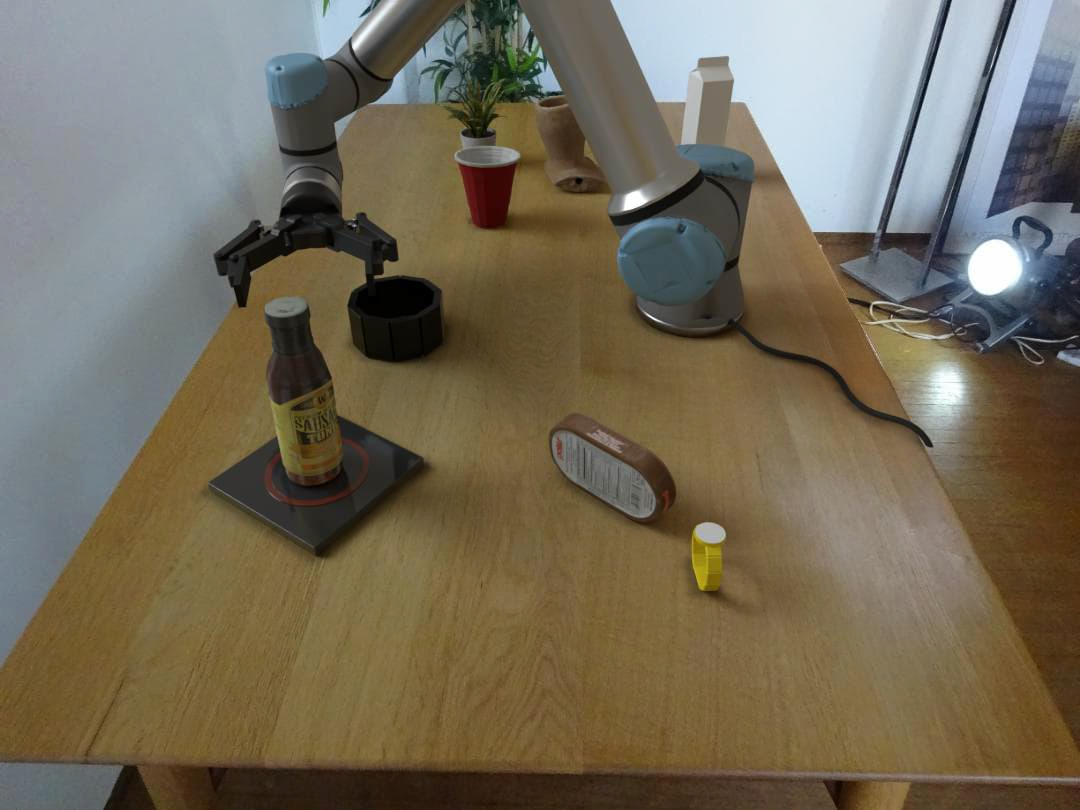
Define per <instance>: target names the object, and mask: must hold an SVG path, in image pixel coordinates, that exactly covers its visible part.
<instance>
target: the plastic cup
mask: <svg viewBox="0 0 1080 810" xmlns="http://www.w3.org/2000/svg"><path fill="white" fill-rule="evenodd" d="M454 159H455V161H456V163H457V165H458V168H459V171H460V175H461V177H462V183H463V187H464V191H465V196H466V201H467V205H468V208H469V212H470V217H471V221H472V223H473V225H474V226H475V227H478V228H480V229H485V230H489V229H490V230H492V229H497V228H501V227H502V226H504V225H505V224H506V223H507V219H508V215H509V207H510V204H511V197H512V191H513V185H514V179H515V174H516V170H517V167H518V166H517V165H518V163H519V160H521V153H520V152H519V151H517V150H516V149H513V148H510V147H505V146H497V145H495V146H477V147H469V148H465V149H463V148H462V149H459V150H457V151H456V152H455V153H454Z"/></svg>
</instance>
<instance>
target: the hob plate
mask: <svg viewBox="0 0 1080 810" xmlns="http://www.w3.org/2000/svg"><path fill="white" fill-rule="evenodd" d="M337 415H338V414H337ZM338 421H339V428H340V434H341V441H342V448H343V466H342V468H341V470H340V472H339V473H338V475H337V476H336V477H335V478H334V479H332V480H330V481H329V482H326V483H324V484H320V485H315V486H301V485H299V484H296V483H294V482H293V481H291V480H290V479H289V477H288V475H287V473H286V471H285V466H284V465H283V461H282V457H281V452H280V447H279V442H278V437H277V435H276V436H274V437H273V438H272V439H269V441H268V442H265V443H264V444H263V445H262V446H260V447H258V448H257V449H255V450H254V451H253V452H251V453H249V454H248V455H246V456H245V457H244V458H242V459H241V460H239V461H237V462H236V463H235V464H233V465H231V466H230V467H228V468H227V469H225V471H223V472H221V473H220V474H218V475H217V476H215V477H214V478H212V479H211V480H210V481H208V482H207V486H208V488H209V491H210V492H211V493H213V494H214V495H216V496H217V497H219V498H221V499H222V500H224V501H226V502H227V503H229V504H231V505H232V506H234V507H236V508H237V509H239V510H240V511H242V512H244V513H245V514H247V515H249V516H250V517H252V518H253V519H255V520H257V521H258V522H259V523H261V524H264V526H266V527H268V528H270V529H271V530H273V531H275V532H276V533H278V534H280V535H281V536H282V537H284V538H286V539H288V540H289V541H291V542H293V543H294V544H296V545H297V546H298V547H301V548H302V549H303V550H305V551H307V552H308V553H310V554H312V555H313V556H315V557H317V556H318V555H319V554H321V553H322V552H323V551H324V550H325V549H327V548H328V547H329V546H330V545H332V544H333V543H334V542H335V541H336V540H337V539H339V538H340V537H341V536H342V535H344V533H346V532H347V531H348V530H350V529H351V528H352V527H353V526H354V525H355V524H357V523H358V522H359V521H360V520H361V519H362V518H364V517H365V516H366V515H368V514H369V513H370V512H371V511H372V510H373V509H375V508H376V507H377V506H378V505H379V504H380V503H382V502H383V501H385V499H387V497H389V496H390V495H391V494H393V492H395V491H396V490H397V489H398V488H399V487H401V486H402V485H403V484H405V483H406V482H407V481H408V480H409V479H410V478H411V477H412V476H414V475H415V474H416V473H418V472H419V471H420V470H421V469H422V468H424V467H425V458H424V457H423V456H421V455H419V454H417V453H415V452H413V451H411V450H409V449H407V448H405V447H403V446H401V445H399V444H397V443H396V442H393V441H391V440H389V439H387V438H385V437H383V436H381V435H379V434H377V433H375V432H373V431H372V430H369V429H366V428H365V427H363V426H361V425H359V424H357V423H355V422H353V421H351V420H348V419H347V418H344V417H343V416H341V415H338Z"/></svg>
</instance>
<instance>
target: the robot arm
mask: <svg viewBox="0 0 1080 810" xmlns="http://www.w3.org/2000/svg"><path fill="white" fill-rule="evenodd" d="M467 1H468V0H380V1H379V2H378V3H377V5H376V6H375V7H374V8H373V9H372V10H371V11H370V13H369V14H368V15H367V16H366V18H365V19H364V20H363V21H362V22H361V24H359V26H357V28H356V30H355V31H354V32H353V33H352V35H351V36H350V37H349V38H348V39H347V40H346V41H345V43H344V44H343V45H342V46H341V47H340V49H339V50H338V51H336V52H335V53H334V54H333V55H331V56H329V57H326V58H324V59H323V58H322V57H320V56H319V55H317V54H314V53H308V52H292V53H286V54H281V55H276V56H274V57H272V58H271V59H269V60H268V61H267V62H266V65H265V67H264V72H265V79H266V86H267V99H268V101H269V104H270V105H269V106H270V110H271V114H272V118H273V124H274V129H275V134H276V139H277V143H278V147H279V149H278V150H279V156H280V161H281V165H282V170H283V177H284V182H283V189H282V195H281V201H280V208H279V214H278V220H276V221H275V222H274V224H273V225H264V224H262V221H261V220H260V219H252V220H251V221H250V222H249V224H248V226H247V227H246V229H244V230H243V231H242V232H240V233H239V234H238V235H236V236H235V237H233V238H232V239H231V240H230V241H228V242H227V243H225V244H224V245H223V246H222V247H220V249H218V250H217V251H216V252H214V253H213V254H212V256H213V261H214V264H215V268H216V272H217V275H218V276H219V277H226V276H227V280H228V284H229V287H230V288H231V289H233V292H234V296H235V301H236V304H237V308H238V309H242V308H243V309H244V308H247V304H248V299H249V295H250V294H249V293H250V289H251V283H252V275H251V273H253V271H256V270H257V269H259V268H261V267H263V266H264V265H266V264H268V263H270V262H272V261H273V260H275V259H277V258H279V257H281V256H282V257H288V256H290V255H292V254H294V253H296V252H297V251H303V250H308V249H328V250H331V251H332V252H335V253H340V252H344V253H345V254H348V255H350V256H352V257H354V258H357V259H359V260H361V261H363V262H364V274H365V275H364V276H365V283H366V282H367V289H368V296H375V280H374V279H375V276H383V275H384V274H385V266H384V263H385V262H386V261H388V262H390V263H397V262H398V261H399V260H400V258H399V248H398V240H397V239H396V238H395V237H393V236H392V235H391V234H389V233H388V232H387V231H386V230H383V229H382V228H381V227H379V226H378V225H377V224H376V223H374V222H373V221H372V220H370V219H369V218H368V216H367V213H366V212H364V211H359V212H357V213H356V214H355V215H356V216H355V217H353V218H352V219H346V220H345V217H343V182H344V170H343V169H344V168H343V163H342V161H341V159H340V155H339V147H338V141H337V134H336V128H335V126H336V125H335V124H336V123H337V122H338V121H340V120H342V119H344V118H345V117H347V116H349V115H351V114H353V113H355V112H357V111H358V110H361V109H362V108H364V107H366V106H368V105H370V104H373V103H375V102H377V101H379V100H380V99H381V98H382V97H383V96H384V95H386V94H387V93H388V92H389V91H390V90H391V88H392V86H393V84H394V81H395V78H396V76H397V75H398V74H399V73H400V72H401V71H402V70H403V69H404V67H405V66H406V65H407V64H408V63H409V62H410V61H412V59H413V58H414V57H415V56H416V55H417V54H418V53H419V52H420V51H421V49H422V48H423V47H424V46H425V45H426V44H427V43H429V41H430V40H431V39H432V38H433V37H435V35H436V34H437V33H438V31H439V30H440V29H442V27H443V26H444V25H445V24H446V23H447V22H448V21H449V20H450V19H451V18H452V17H453V16H454V15H455V14H456V13H457V12H458V10H460V8H461V7H462V6H463V5H464V4H465V3H466V2H467ZM517 2H518V4H519V6H520V9H521V11H522V12H523V14H524V16H525V18H526V21H527V22H528V24H529V26H530V29H531V30H532V33H533V35H534V37H535V38H536V41H537V42H538V45H539V48H540V49H541V51H542V53H543V55H544V58H545V59H546V62H547V64H548V66H549V68H550V69H551V72H552V74H553V75H554V78H555V79H556V82H557V83H558V86H559V88H560V90H561V92H562V95H564V96H565V98H566V100H567V102H568V104H569V106H570V108H571V110H572V112H573V114H574V116H575V118H576V120H577V122H578V124H579V126H580V129H581V131H582V133H583V135H584V137H585V142H586V143H587V145H588V147H589V149H590V152H591V153H592V155H593V157H594V159H595V161H596V163H597V165H598V168H599V170H600V172H601V174H602V175H603V177H604V179H605V181H606V184H607V185H608V187H609V188H608V189H609V190H610V197H609V199H608V203H607V206H606V214H607V216H608V218H609V220H610V223H612V226H613V228H614V229H615V232H616V233H617V234H616V235H618V238H619V240H620V242H619V245H618V249H617V257H616V258H617V259H616V260H617V261H616V263H617V268H618V272H619V274H620V277H621V279H622V280H623V282H624V283H625V285H626V286H627V288H628V289H629V290H630V291H632V292H633V293H634V294H635V303H634V307H635V311H636V313H637V315H638V316H639V317H640V318H641V320H643V321H644V322H645V323H646V324H648V325H650V326H651V327H653V328H655V329H657V330H660V331H662V332H665V333H668V334H672V335H676V336H682V337H683V336H684V337H689V338H690V337H691V338H692V337H693V338H697V337H699V338H701V337H703V338H704V337H711V336H713V337H714V336H717V335H721V334H724V333H727V332H729V331H732V330H733V329H735V330H736V331H737V332H739V334H741V335H742V336H743V337H745V338H746V339H747V340H748V341H749V342H750V343H751V344H752V345H753V346H755V347H756V348H757V349H760V350H761V351H763V352H765V353H768V354H771V355H774V356H777V357H781V358H785V359H791V360H795V361H800V362H804V363H805V362H806V363H809V364H812V365H814V366H817V367H819V368H821V369H823V370H825V372H827V373H828V374H830V375H831V376H832V377H833V378H834V380H835V381H836V382H837V383H838V385H839V387H840V389H841V390H842V392H843V393H844V395H845V396H846V398H847V399H848V400H849V401H850V402H851V404H853V406H855V407H856V408H858V409H859V410H860V411H861V412H863V413H865V414H868V415H869V416H872V417H874V418H877V419H881V420H884V421H888V422H892V423H895V424H898V425H901V426H903V427H906V428H907V429H910V430H911V431H912V432H914V433H915V434H916V435H917V436H918V437H919V438H920V440H921V441H922V442H923V444H924V446H926V447H928V448H930V449H932V448H934V444H933V443H932V440H931V438H930V437H929V435H928V434H927V433H926V432H925V431H924V430H923V429H922V428H921V427H919V425H917V424H915V423H914V422H912V421H910V420H908V419H906V418H903V417H900V416H897V415H893V414H890V413H886V412H882V411H879V410H877V409H874V408H872V407H869V406H868V405H866V404H864V402H862V401H861V400H860V399H858V398H857V397H856V396H855V395H854V393H853V392H852V390H851V389H850V387H849V385H848V384H847V382H846V380H845V379H844V378H843V376H842V375H841V374H840V373H839V372H838V371H837V370H836V369H835V368H834V367H833V366H831V365H829V364H827V363H826V362H824V361H822V360H821V359H817V358H815V357H812V356H808V355H804V354H799V353H794V352H789V351H784V350H780V349H777V348H774V347H772V346H771V347H770V346H768V345H766V344H764V343H762V342H760V341H759V340H758V339H757V338H756V337H755V336H754V335H753V334H752V333H750V331H748V330H747V329H746V328H744V327H743V326H742V325H741V324H740V323H741V321H742V320H743V316H744V311H745V296H744V289H743V284H742V279H741V274H740V273H741V272H740V267H739V261H740V256H741V252H742V245H743V239H744V234H745V227H746V221H747V216H748V210H749V204H750V198H751V192H752V186H753V184H755V181H756V180H755V168H756V167H755V166H756V165H755V161H754V158H752V156H751V155H749V154H748V153H746V152H745V151H744V152H743V151H742V150H739V149H736V148H731V147H726V146H724V147H722V146H716V145H706V144H684V145H681V144H679V145H676V143H675V141H674V139H673V136H672V135H671V132H670V131H669V128H668V126H667V124H666V121H665V119H664V117H663V114H662V113H661V109H660V108H659V105H658V103H657V101H656V99H655V96H654V94H653V92H652V90H651V88H650V85H649V83H648V81H647V79H646V77H645V74H644V72H643V69H642V67H641V66H640V63H639V61H638V59H637V56H636V54H635V52H634V49H633V47H632V45H631V43H630V41H629V38H628V36H627V34H626V32H625V30H624V28H623V26H622V23H621V20H620V19H619V16H618V14H617V12H616V9H615V7H614V4H613V3H612V0H517Z"/></svg>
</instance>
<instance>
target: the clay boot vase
mask: <svg viewBox="0 0 1080 810" xmlns="http://www.w3.org/2000/svg"><path fill="white" fill-rule="evenodd" d="M534 116H535V124H536V128H537V131H538V133H539V136H540V138H541V141H542V143H543V146H544V149H545V152H546V155H547V159H545V161H544V162H543V163H544V164H543V166H544V167H543V168H544V171H545V174H546V175H547V176H548V178H549V179H550V181H551V183H552V184H553V185H554V186H555V187H558V188H560V189H562V190H565V191H568V192H573V193H582V192H583V193H584V192H590V191H594V190H597V189H601V188H603V187H604V186H605V185H606V184H607V182H606V179H605V177H604V175H603V173H602V171H601V170H600V168H599V166H597V164H596V163H595V162H594V161H593V159H591V158H590V157H589V156H586V155H585V145H586V139H585V137H584V135H583V133H582V131H581V129H580V126H579V124H578V122H577V120H576V118H575V116H574V114H573V112H572V110H571V108H570V106H569V104H568V102H567V100H566V98H565V96H564V94H559V95H555V96H554V95H553V96H548V97H545V98H542V99H540V100H538V101H537V102H536V103H535V105H534Z"/></svg>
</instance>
